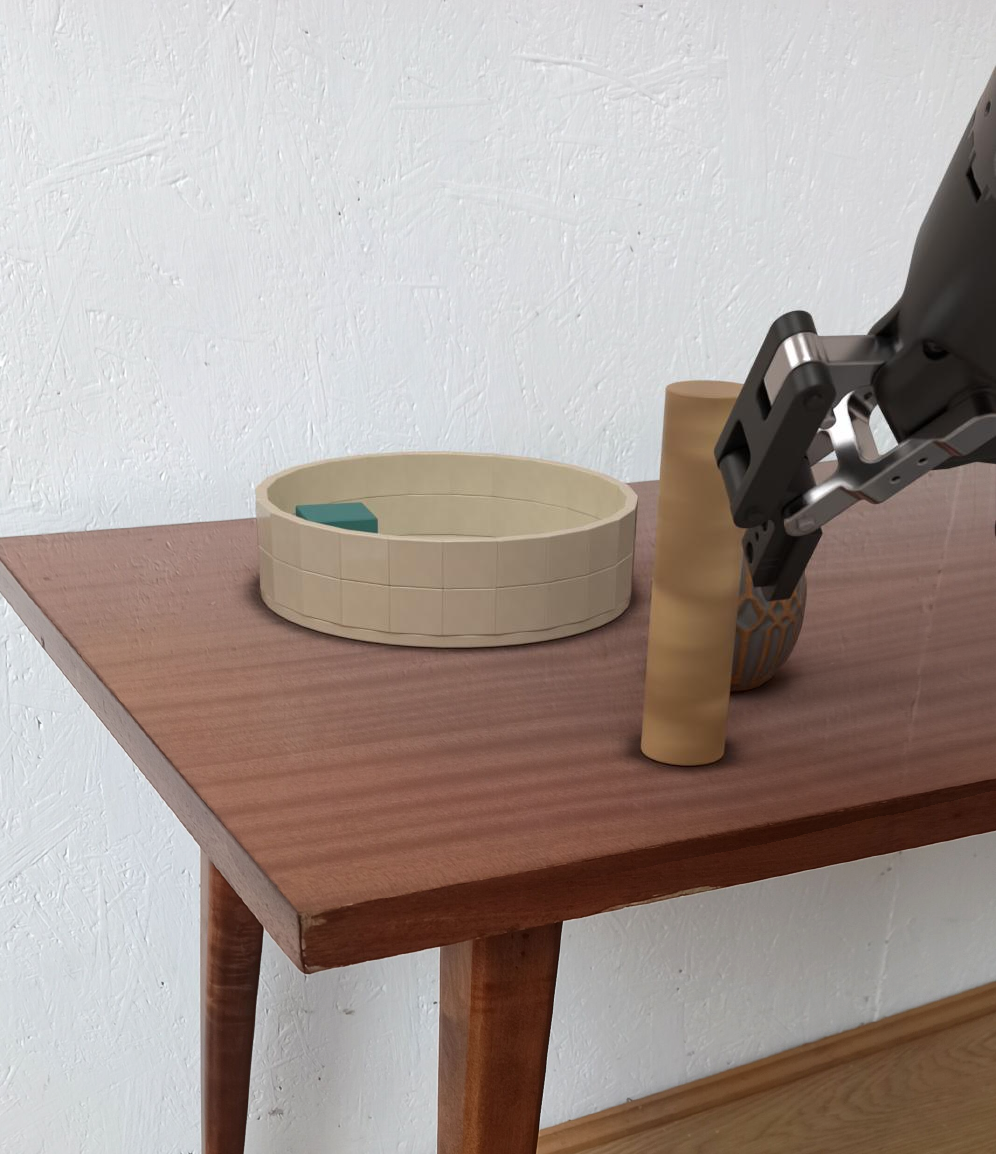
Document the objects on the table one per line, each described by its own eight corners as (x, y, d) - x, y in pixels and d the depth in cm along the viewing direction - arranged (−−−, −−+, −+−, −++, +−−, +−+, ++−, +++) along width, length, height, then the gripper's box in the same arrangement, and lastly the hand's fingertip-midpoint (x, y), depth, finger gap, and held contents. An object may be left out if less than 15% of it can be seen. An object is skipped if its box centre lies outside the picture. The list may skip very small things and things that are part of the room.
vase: (826, 679, 78) (851, 481, 74) (733, 714, 74) (753, 506, 70) (708, 644, 82) (725, 454, 78) (613, 675, 78) (625, 476, 74)
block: (363, 569, 90) (362, 501, 88) (379, 588, 87) (378, 517, 85) (297, 573, 89) (294, 504, 87) (311, 592, 86) (309, 521, 85)
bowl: (640, 552, 97) (646, 460, 94) (618, 659, 80) (625, 550, 78) (305, 534, 98) (302, 443, 96) (218, 634, 82) (211, 528, 79)
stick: (724, 738, 72) (758, 381, 64) (723, 768, 69) (759, 398, 61) (642, 733, 72) (667, 377, 65) (638, 763, 69) (664, 393, 62)
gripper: (1337, 22, 43) (1053, 452, 58) (808, 41, 40) (655, 487, 56) (1446, 258, 41) (1122, 641, 56) (895, 295, 38) (711, 688, 53)
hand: (890, 564), depth 56 cm, fingers open, 8 cm apart
